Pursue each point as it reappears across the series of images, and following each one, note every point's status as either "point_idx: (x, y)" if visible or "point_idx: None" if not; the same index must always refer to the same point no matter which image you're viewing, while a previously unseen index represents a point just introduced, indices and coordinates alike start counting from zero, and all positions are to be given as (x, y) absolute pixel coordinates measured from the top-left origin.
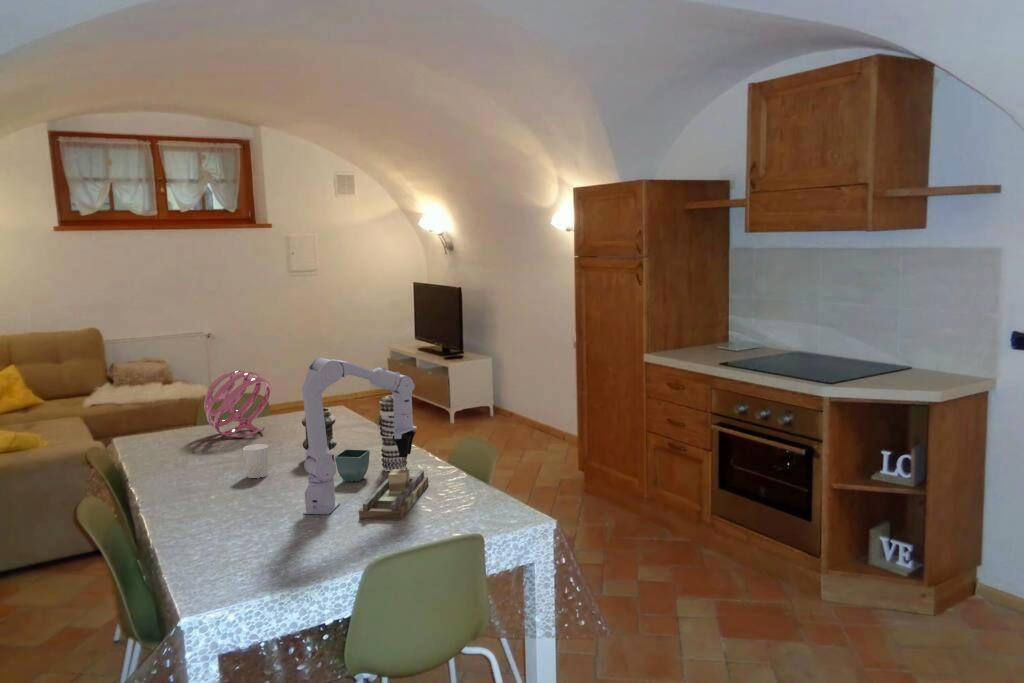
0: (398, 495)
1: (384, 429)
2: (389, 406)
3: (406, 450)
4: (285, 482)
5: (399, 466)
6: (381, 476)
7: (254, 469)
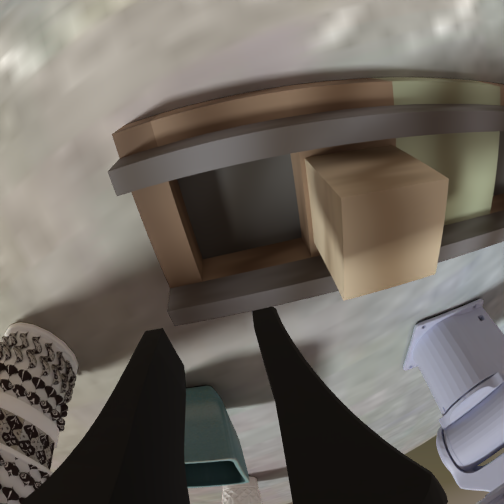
0: (451, 152)
1: None
2: None
3: (302, 362)
4: (262, 457)
5: (40, 344)
6: (125, 357)
7: (258, 491)
